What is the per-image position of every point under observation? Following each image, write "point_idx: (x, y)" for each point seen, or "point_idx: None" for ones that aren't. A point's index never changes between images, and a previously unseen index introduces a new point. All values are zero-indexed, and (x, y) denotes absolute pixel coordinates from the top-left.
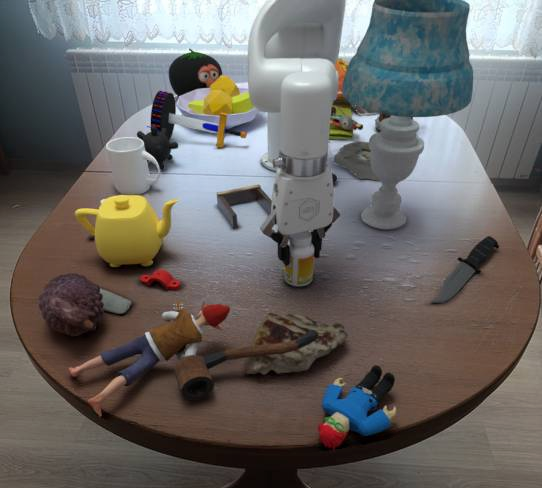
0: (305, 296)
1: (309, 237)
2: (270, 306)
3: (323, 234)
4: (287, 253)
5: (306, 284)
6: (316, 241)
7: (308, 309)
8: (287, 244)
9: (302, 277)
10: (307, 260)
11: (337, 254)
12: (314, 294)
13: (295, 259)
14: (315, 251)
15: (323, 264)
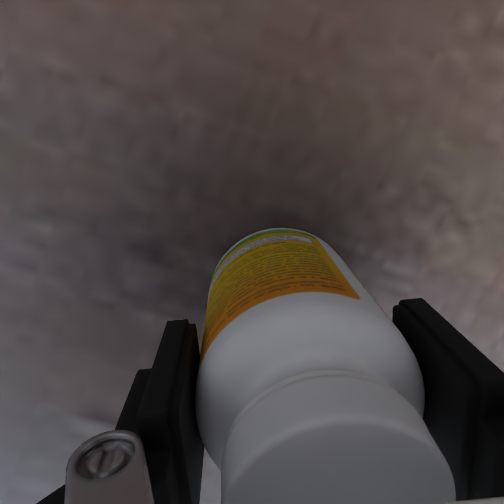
0: (299, 149)
1: (274, 444)
2: (495, 128)
3: (90, 466)
4: (463, 347)
5: (263, 230)
6: (180, 413)
7: (328, 34)
8: (468, 428)
9: (296, 241)
10: (284, 282)
11: (24, 417)
12: (248, 150)
13: (376, 305)
14: (191, 357)
15: (117, 364)
